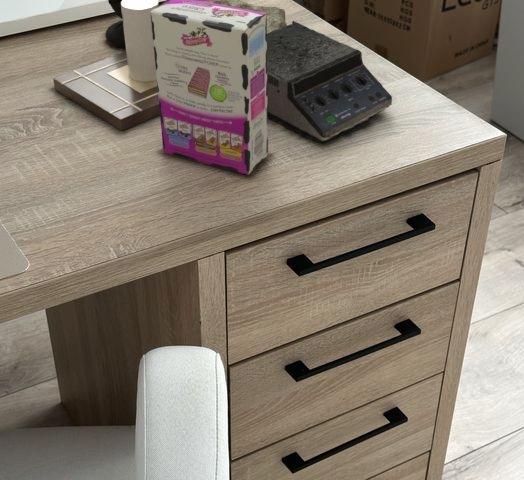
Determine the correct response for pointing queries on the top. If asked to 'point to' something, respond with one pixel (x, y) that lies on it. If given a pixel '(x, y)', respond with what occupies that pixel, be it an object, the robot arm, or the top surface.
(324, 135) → the electronic device
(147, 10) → the white cylinder
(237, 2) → the rock
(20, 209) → the top surface
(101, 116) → the grid board
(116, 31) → the webcam
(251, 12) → the candy bar box
